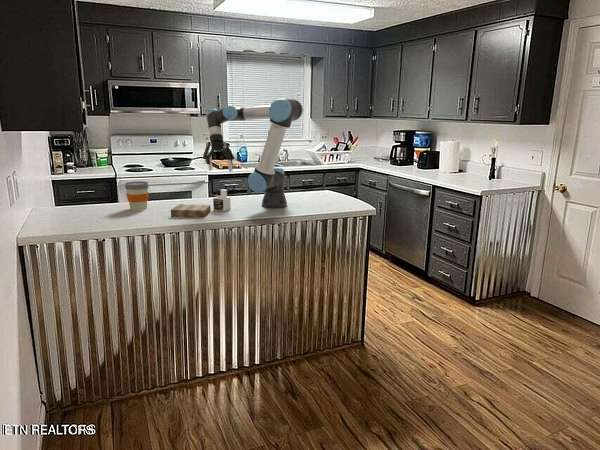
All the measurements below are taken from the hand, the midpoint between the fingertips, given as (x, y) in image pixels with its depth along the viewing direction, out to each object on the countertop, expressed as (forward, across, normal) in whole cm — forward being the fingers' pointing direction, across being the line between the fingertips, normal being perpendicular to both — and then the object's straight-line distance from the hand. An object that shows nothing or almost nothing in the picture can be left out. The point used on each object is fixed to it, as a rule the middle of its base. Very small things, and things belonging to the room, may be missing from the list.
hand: (221, 170), depth 255 cm
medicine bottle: (+22, 0, -4) cm, 23 cm away
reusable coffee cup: (+14, +36, -35) cm, 52 cm away
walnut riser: (+25, +20, -5) cm, 32 cm away
